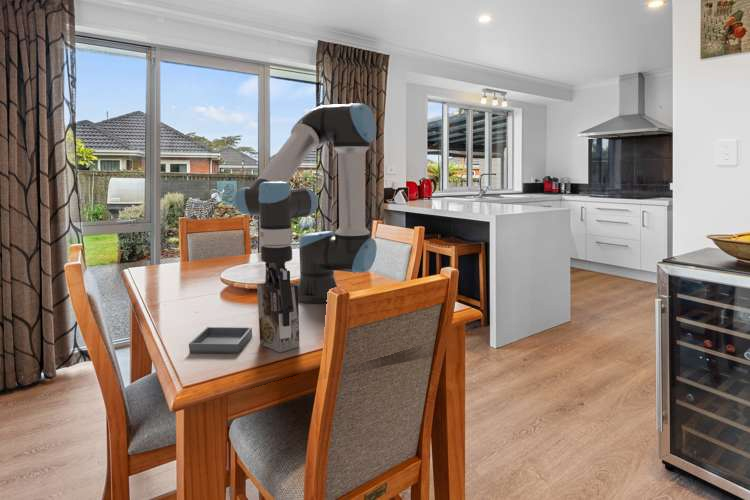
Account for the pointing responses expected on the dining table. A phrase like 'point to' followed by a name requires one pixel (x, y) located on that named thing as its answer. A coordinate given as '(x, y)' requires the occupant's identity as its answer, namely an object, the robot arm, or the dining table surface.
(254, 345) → the dining table surface
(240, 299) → the dining table surface
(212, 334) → the tray
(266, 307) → the coffee box
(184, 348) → the dining table surface
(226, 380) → the dining table surface
